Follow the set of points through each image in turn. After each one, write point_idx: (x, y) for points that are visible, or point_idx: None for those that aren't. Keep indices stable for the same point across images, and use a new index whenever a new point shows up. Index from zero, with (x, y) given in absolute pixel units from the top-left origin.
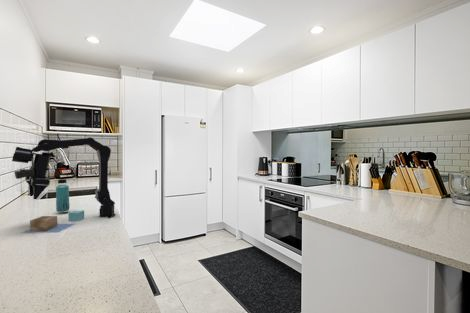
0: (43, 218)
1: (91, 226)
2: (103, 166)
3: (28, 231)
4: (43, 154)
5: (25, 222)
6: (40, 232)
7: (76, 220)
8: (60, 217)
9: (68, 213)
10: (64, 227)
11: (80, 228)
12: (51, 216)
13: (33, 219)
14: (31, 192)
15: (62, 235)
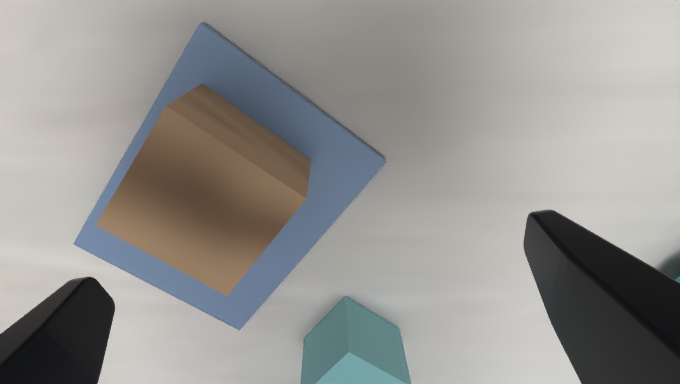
0: (188, 208)
1: (155, 380)
2: None
3: (209, 71)
4: None
5: (616, 31)
6: (129, 149)
7: (311, 341)
8: None
9: (347, 349)
10: (182, 276)
11: (142, 337)
12: (235, 261)
13: (194, 134)
14: (573, 293)
15: (27, 255)
